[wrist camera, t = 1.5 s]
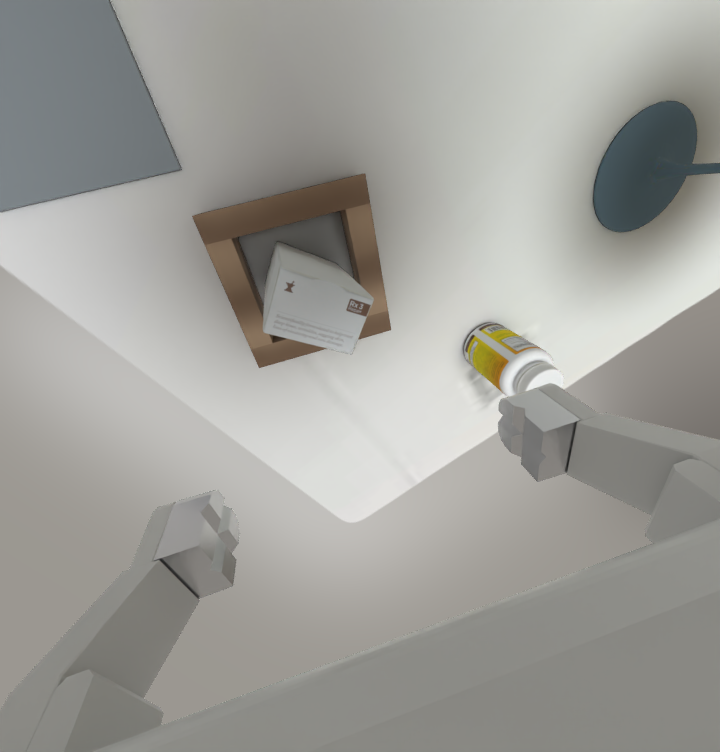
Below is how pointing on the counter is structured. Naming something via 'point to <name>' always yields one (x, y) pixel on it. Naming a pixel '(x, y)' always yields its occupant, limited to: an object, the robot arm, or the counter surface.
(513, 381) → the supplement bottle
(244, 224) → the walnut collar
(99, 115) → the slate mat
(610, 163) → the cocktail glass
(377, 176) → the counter surface
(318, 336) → the skincare box
